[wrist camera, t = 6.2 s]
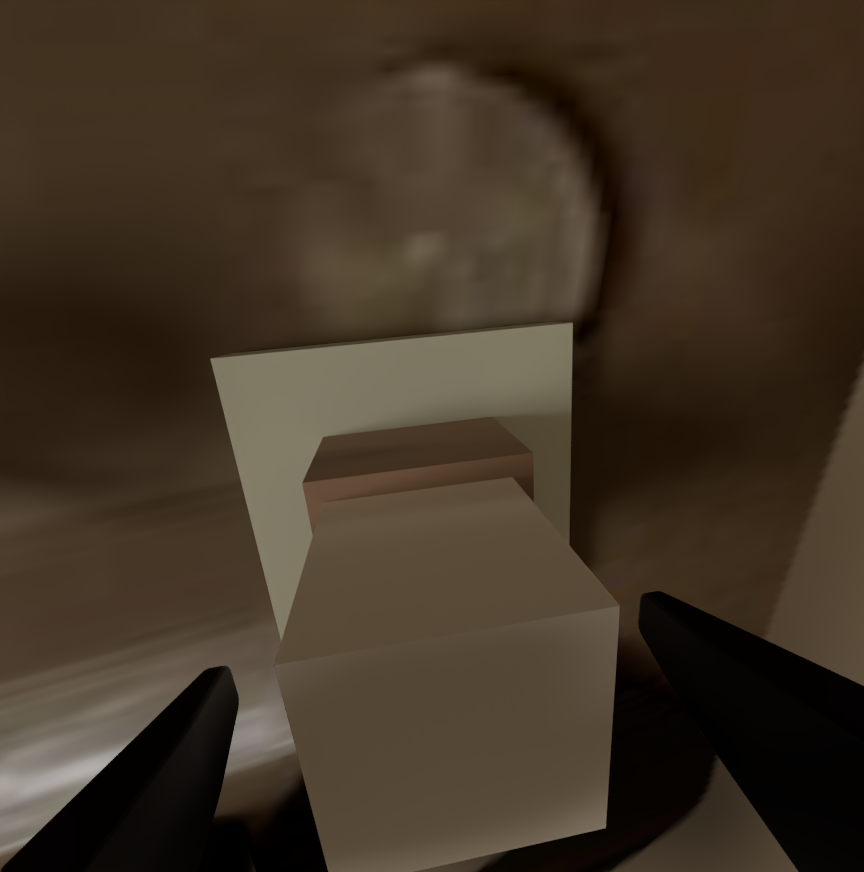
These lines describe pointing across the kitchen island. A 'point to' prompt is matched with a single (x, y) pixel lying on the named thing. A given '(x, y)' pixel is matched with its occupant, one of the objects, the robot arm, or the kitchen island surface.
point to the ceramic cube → (447, 678)
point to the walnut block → (414, 461)
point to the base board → (388, 417)
